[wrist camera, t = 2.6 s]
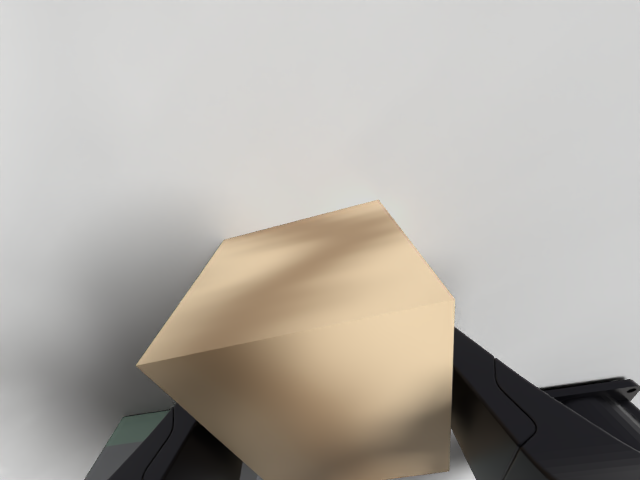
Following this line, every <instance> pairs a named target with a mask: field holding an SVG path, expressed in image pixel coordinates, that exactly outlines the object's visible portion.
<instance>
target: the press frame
mask: <svg viewBox="0 0 640 480" xmlns="http://www.w3.org/2000/svg"><path fill="white" fill-rule="evenodd" d="M169 411H170V410H168V411H161V412H155V413H148V414H141V415H135V416H128V417H123V418H122V420H121V422H120V423H119V425H118V426H117V428H116V430H115V431H114V433H113V434H112V436H111V438H110V439H109V441H108V442H107V444H106V446H105V447H104V449H103V450H102V452H101V454H100V455H99V457H98V458H97V460H96V462H95V463H94V465H93V466H92V468H91V470H90V471H89V473H88V474H87V476H86V478H85V479H84V480H107V479H108V478H109V477H110V476H111V475H112V474H113V473H114V472H115V471H116V470H117V469H118V468H119V467H120V466H121V465H122V463H123V462H124V461H125V460H126V459H127V458H128V457H129V456H130V455H131V454H132V453H133V452H134V451H135V450H136V448H137V447H138V446H139V445H140V444H141V443H142V442H143V441H144V440H145V439H146V438H147V437H148V435H149V434H150V433H151V432H152V431H153V430H154V429H155V427H156V426H157V425H158V424H159V423H160V422H161V420H162V419H163V418H164V417H165V416H166V415H167V413H168V412H169ZM240 480H263V479H262V478H261V477H260V476H259V475H257V474H256V473H255V472H254V471H253V470H252V469H251V468H250V467H248V466H247V465H246V464H245V463H244V462H243V464H242V470H241V475H240Z"/></svg>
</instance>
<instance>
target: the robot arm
mask: <svg viewBox="0 0 640 480" xmlns="http://www.w3.org/2000/svg"><path fill="white" fill-rule="evenodd" d="M639 391H640V386H639V385H638V384H637V383H635V382H634V381H633V380H631V379H627V380H619V381H612V382H605V383H598V384H591V385H583V386H576V387H569V388H562V389H554V390H547V391H542V390H541V389H539V388H538V387H536V386H535V385H533V384H532V383H530V382H529V381H527V380H526V379H524V378H523V377H521V376H520V375H519V374H517V373H516V372H515V371H513V370H512V369H510V368H509V367H508V366H506V365H505V364H504V363H502V362H501V361H500V360H498V359H497V358H495V359H494V356H493V355H491V354H490V353H489V352H487V351H486V350H485V349H483V348H482V347H481V346H479V345H478V344H477V343H475V342H474V341H473V340H471V339H470V338H469V337H467V336H466V335H465V334H463V333H462V332H461V331H459V330H458V329H457V328H455V327H454V344H453V375H452V405H451V428H452V430H453V433H454V435H455V437H456V439H457V441H458V443H459V445H460V447H461V449H462V451H463V453H464V455H465V458H466V460H467V462H468V464H469V466H470V468H471V470H472V472H473V474H474V476H475V478H476V480H640V410H639V409H638V408H637V407H636V406H635V405H634V404H633V403H632V402H630V401H631V400H632V399H633V397H634V396H635V395H636V394H637V393H638V392H639ZM242 464H243V461H242V460H241V459H239V458H238V457H237V456H236V455H235V454H234V453H233V452H232V451H231V450H229V449H228V448H227V447H226V446H225V445H224V444H223V443H222V442H220V441H219V440H218V439H217V438H216V437H215V436H214V435H213V434H211V433H210V432H209V431H208V430H207V429H206V428H205V427H204V426H203V425H201V424H200V423H199V422H198V421H197V420H196V419H195V418H194V417H192V416H191V415H190V414H189V413H188V412H187V411H186V410H185V409H183V408H182V407H181V406H180V405H179V404H178V403H176V404H175V405H174V407H173V408H172V409H171V410H170V411H169V412H168V413H167V415H166V416H165V417H164V418H163V419H162V420H161V422H160V423H159V424H158V425H157V426H156V427H155V429H154V430H153V431H152V432H151V433H150V434H149V435H148V437H147V438H146V439H145V440H144V441H143V442H142V443H141V444H140V445H139V446H138V447H137V448H136V450H135V451H134V452H133V453H132V454H131V455H130V456H129V457H128V458H127V459H126V460H125V461H124V462H123V463H122V465H121V466H120V467H119V468H118V469H117V470H116V471H115V472H114V473H113V474H112V475H111V476H110V477H109V478H108V479H107V480H240V475H241V470H242Z"/></svg>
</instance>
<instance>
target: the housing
mask: <svg viewBox="0 0 640 480" xmlns="http://www.w3.org/2000/svg"><path fill="white" fill-rule="evenodd" d="M454 314H455V299H454V298H453V296H452V295H451V294H450V292H449V291H448V290H447V288H446V287H445V286H444V284H443V283H442V282H441V281H440V279H439V278H438V277H437V275H436V274H435V273H434V271H433V270H432V269H431V268H430V266H429V265H428V264H427V262H426V261H425V260H424V258H423V257H422V256H421V254H420V253H419V252H418V251H417V249H416V248H415V247H414V245H413V244H412V243H411V241H410V240H409V239H408V238H407V236H406V235H405V234H404V232H403V231H402V230H401V228H400V227H399V226H398V225H397V223H396V222H395V221H394V219H393V218H392V217H391V215H390V214H389V213H388V211H387V210H386V209H385V208H384V206H383V205H382V204H381V202H380V201H379V200H376V201H372V202H368V203H364V204H360V205H356V206H353V207H349V208H345V209H341V210H337V211H333V212H329V213H326V214H322V215H318V216H314V217H310V218H306V219H303V220H299V221H295V222H291V223H287V224H283V225H280V226H276V227H272V228H268V229H264V230H260V231H256V232H253V233H249V234H245V235H241V236H237V237H233V238H230V239H226V240H224V241H223V242H222V244H221V245H220V247H219V248H218V249H217V251H216V252H215V254H214V255H213V256H212V258H211V259H210V261H209V262H208V264H207V265H206V266H205V268H204V269H203V271H202V272H201V274H200V275H199V276H198V278H197V279H196V281H195V282H194V283H193V285H192V286H191V288H190V289H189V291H188V292H187V293H186V295H185V296H184V298H183V299H182V300H181V302H180V303H179V305H178V306H177V308H176V309H175V310H174V312H173V313H172V315H171V316H170V318H169V319H168V320H167V322H166V323H165V325H164V326H163V327H162V329H161V330H160V332H159V333H158V335H157V336H156V337H155V339H154V340H153V342H152V343H151V344H150V346H149V347H148V349H147V350H146V352H145V353H144V354H143V356H142V357H141V359H140V360H139V362H138V363H137V364H136V367H138V368H139V369H140V370H141V371H142V372H143V373H144V374H145V375H147V376H148V377H149V378H150V379H151V380H152V381H153V382H154V383H155V384H157V385H158V386H159V387H160V388H161V389H162V390H163V391H164V392H166V393H167V394H168V395H169V396H170V397H171V398H172V399H173V400H175V401H176V402H177V403H178V404H179V405H180V406H181V407H182V408H183V409H185V410H186V411H187V412H188V413H189V414H190V415H191V416H192V417H194V418H195V419H196V420H197V421H198V422H199V423H200V424H201V425H203V426H204V427H205V428H206V429H207V430H208V431H209V432H210V433H211V434H213V435H214V436H215V437H216V438H217V439H218V440H219V441H220V442H222V443H223V444H224V445H225V446H226V447H227V448H228V449H229V450H231V451H232V452H233V453H234V454H235V455H236V456H237V457H238V458H239V459H241V460H242V461H243V462H244V463H245V464H246V465H247V466H248V467H250V468H251V469H252V470H253V471H254V472H255V473H256V474H257V475H259V476H260V477H261V478H262V479H263V480H387V479H394V478H402V477H409V476H417V475H425V474H432V473H440V472H447V471H449V465H450V435H451V405H452V375H453V344H454Z"/></svg>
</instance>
